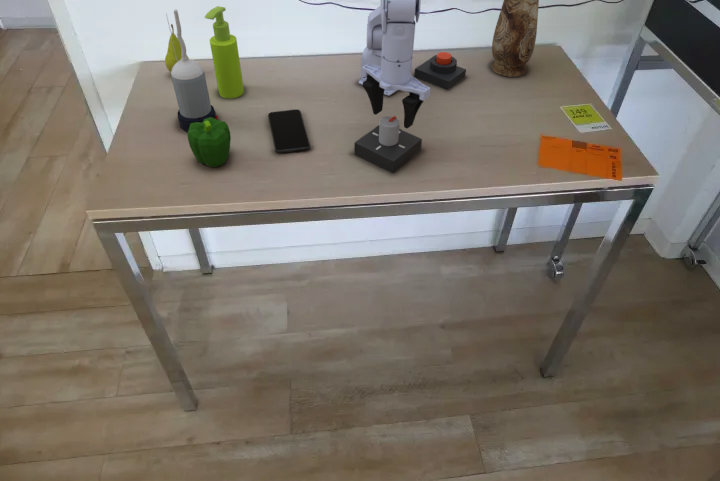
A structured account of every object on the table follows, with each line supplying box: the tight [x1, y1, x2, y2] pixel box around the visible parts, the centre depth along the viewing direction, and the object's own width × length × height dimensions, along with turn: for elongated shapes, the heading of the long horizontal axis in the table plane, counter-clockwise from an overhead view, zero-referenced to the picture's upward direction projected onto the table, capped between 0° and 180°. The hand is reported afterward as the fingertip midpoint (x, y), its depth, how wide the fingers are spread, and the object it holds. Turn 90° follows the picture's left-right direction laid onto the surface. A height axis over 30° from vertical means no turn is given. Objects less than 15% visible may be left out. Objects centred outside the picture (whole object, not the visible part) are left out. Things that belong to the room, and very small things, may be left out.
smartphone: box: [267, 109, 311, 154], centre depth 122 cm, size 7×1×15 cm
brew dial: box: [378, 115, 401, 146], centre depth 114 cm, size 4×4×5 cm
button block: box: [413, 54, 467, 90], centre depth 140 cm, size 10×8×4 cm
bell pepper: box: [186, 117, 232, 168], centre depth 112 cm, size 8×8×10 cm
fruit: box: [164, 23, 190, 73], centre depth 135 cm, size 6×6×12 cm
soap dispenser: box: [204, 5, 245, 99], centre depth 127 cm, size 6×7×20 cm
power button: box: [436, 51, 453, 65], centre depth 138 cm, size 4×4×2 cm
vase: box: [491, 0, 540, 78], centre depth 134 cm, size 10×11×30 cm
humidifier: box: [165, 9, 219, 133], centre depth 116 cm, size 8×8×25 cm
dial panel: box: [353, 124, 423, 174], centre depth 117 cm, size 10×10×3 cm
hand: (392, 119), depth 112 cm, fingers open, 7 cm apart
